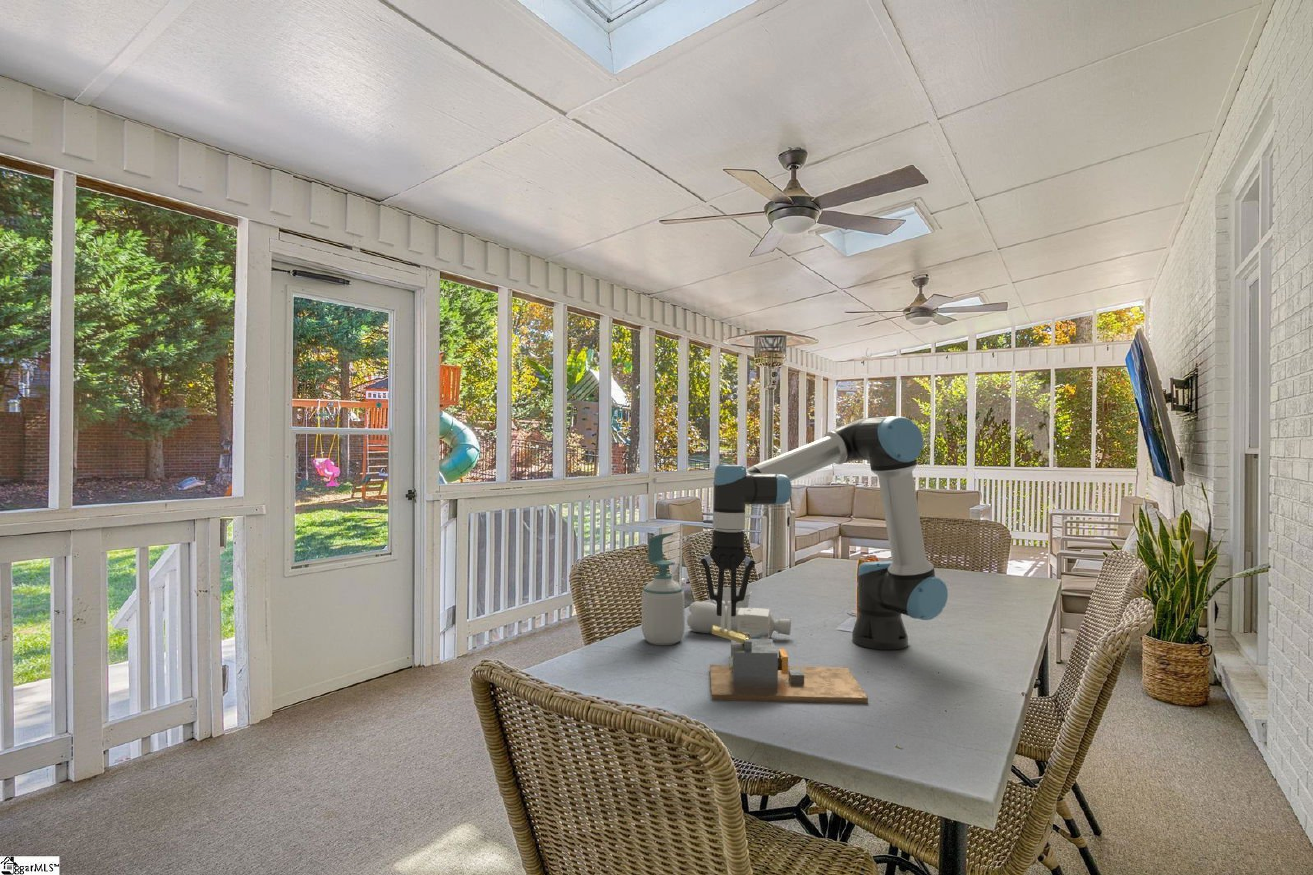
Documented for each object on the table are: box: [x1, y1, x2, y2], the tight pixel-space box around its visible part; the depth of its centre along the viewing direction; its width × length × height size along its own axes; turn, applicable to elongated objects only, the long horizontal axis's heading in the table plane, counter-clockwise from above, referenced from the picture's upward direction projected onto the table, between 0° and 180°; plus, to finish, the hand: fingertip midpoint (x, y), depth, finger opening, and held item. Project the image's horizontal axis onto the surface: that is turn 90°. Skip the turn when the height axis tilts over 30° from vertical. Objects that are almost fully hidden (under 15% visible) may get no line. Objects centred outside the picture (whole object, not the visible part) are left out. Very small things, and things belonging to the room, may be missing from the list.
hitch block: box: [709, 632, 869, 704], centre depth 157 cm, size 34×20×11 cm, turn 87°
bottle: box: [686, 600, 792, 637], centre depth 198 cm, size 9×9×30 cm
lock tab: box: [711, 625, 749, 644], centre depth 157 cm, size 9×4×1 cm, turn 86°
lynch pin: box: [728, 648, 789, 674], centre depth 157 cm, size 13×6×4 cm, turn 87°
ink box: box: [737, 607, 771, 639], centre depth 180 cm, size 9×8×12 cm
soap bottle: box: [641, 532, 686, 646], centre depth 192 cm, size 12×12×31 cm
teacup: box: [707, 586, 753, 608], centre depth 213 cm, size 12×15×10 cm
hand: (725, 629), depth 157 cm, fingers closed
